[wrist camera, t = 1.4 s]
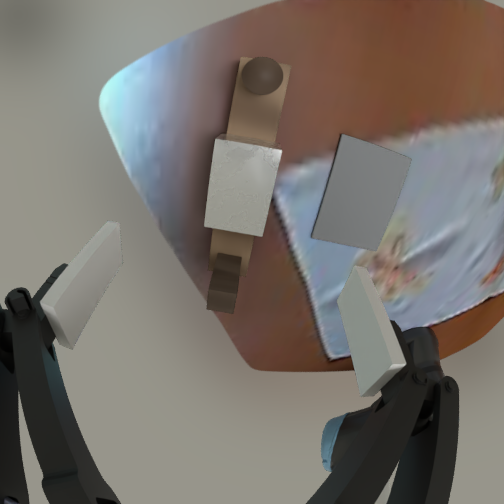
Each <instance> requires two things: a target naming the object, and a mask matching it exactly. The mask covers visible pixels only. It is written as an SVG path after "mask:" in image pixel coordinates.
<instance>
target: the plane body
mask: <svg viewBox="0 0 504 504" xmlns="http://www.w3.org/2000/svg"><path fill="white" fill-rule="evenodd" d="M290 70H291V65H286V64H282V63H277V62H276V61H275V60H273V59H271V58H267V57H257V58H247V57H241V60H240V64H239V69H238V74H237V79H236V85H235V90H234V95H233V100H232V106H231V112H230V117H229V123H228V129H227V134H231V135H237V136H244V137H249V138H255V139H260V140H266V141H271V142H275V139H276V134H277V130H278V125H279V120H280V116H281V111H282V107H283V102H284V97H285V93H286V88H287V83H288V79H289V74H290ZM254 236H255V235H250V234H244V233H238V232H233V231H227V230H221V229H215V228H213V232H212V240H211V248H210V257H209V266H208V270H209V271H213V274H212V278H211V282H210V286H209V290H208V299H207V309H208V310H213V311H219V312H225V313H231V314H233V313H234V308H235V303H236V298H237V292H238V284H239V276H243V277H246V274H247V269H248V264H249V260H250V255H251V250H252V246H253V241H254Z"/></svg>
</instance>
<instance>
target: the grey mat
mask: <svg viewBox="0 0 504 504" xmlns="http://www.w3.org/2000/svg"><path fill="white" fill-rule="evenodd" d="M411 161H412V159H411V158H409V157H406V156H404V155H401V154H399V153H396V152H394V151H391V150H388V149H386V148H383V147H380V146H377V145H375V144H372V143H369V142H366V141H363V140H360V139H357V138H354V137H351V136H347V135H344V134H341V137H340V141H339V145H338V148H337V152H336V156H335V159H334V163H333V166H332V170H331V173H330V177H329V180H328V184H327V187H326V190H325V194H324V197H323V200H322V203H321V207H320V210H319V213H318V216H317V219H316V223H315V226H314V229H313V232H312V235H311V238H313V239H318V240H324V241H329V242H334V243H338V244H343V245H348V246H353V247H358V248H363V249H367V250H372V251H377V249H378V246H379V244H380V242H381V240H382V237H383V235H384V233H385V230H386V228H387V226H388V223H389V221H390V218H391V216H392V213H393V211H394V208H395V206H396V203H397V201H398V198H399V195H400V193H401V190H402V187H403V184H404V182H405V179H406V176H407V173H408V170H409V167H410V164H411Z"/></svg>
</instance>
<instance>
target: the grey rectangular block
mask: <svg viewBox="0 0 504 504" xmlns="http://www.w3.org/2000/svg"><path fill="white" fill-rule="evenodd" d="M281 153H282V149H281V146H280V143H276V142H271V141H266V140H260V139H255V138H249V137H244V136H237V135H231V134H224V133H221V134H220V135H219V136H218V137H217V138H216V139H215V145H214V151H213V158H212V165H211V173H210V180H209V188H208V196H207V204H206V213H205V222H204V227H209V228H215V229H221V230H227V231H233V232H238V233H244V234H250V235H255V236H261V237H262V236H263V232H264V228H265V223H266V219H267V215H268V210H269V206H270V201H271V197H272V193H273V188H274V184H275V180H276V175H277V171H278V166H279V162H280V158H281Z"/></svg>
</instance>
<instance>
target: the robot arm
mask: <svg viewBox="0 0 504 504" xmlns="http://www.w3.org/2000/svg"><path fill="white" fill-rule="evenodd" d="M122 264H123V259H122V247H121V235H120V223H119V222H113V221H107V222H106V223H105V225H103V227H102V228H101V229H100V230H99V231H98V232H97V233H96V234H95V235H94V236H93V237H92V238H91V239H90V241H89V242H88V243H87V244H86V245H85V246H84V248H83V249H82V250H81V251H80V252H79V253H78V254H77V255H76V257H75V258H74V259H73V260H72V262H71V263H70V264H69V265H68V264H62V265H61V266H59V267H58V268H56V269H55V270H54V271H53V273H52V274H51V275H50V277H48V279H47V280H46V282H45V283H44V284H43V285H42V286H41V288H40V289H39V290H38V291H37V293H36V294H35V295H34V297H33V298H31V296H30V293H29V291H28V290H27V289H26V288H22V287H21V288H16V289H14V290H12V291H11V292H9V293H8V295H7V296H6V298H5V304H6V306H7V308H8V310H7V309H2V307H1V305H0V504H29V495H28V489H27V484H26V479H25V473H24V467H23V461H22V454H21V446H20V435H19V413H18V391H19V394H20V399H21V403H22V408H23V412H24V416H25V420H26V424H27V428H28V431H29V435H30V438H31V441H32V444H33V448H34V450H35V453H36V456H37V459H38V461H39V464H40V467H41V469H42V472H43V477H44V478H43V480H42V488H43V490H44V493H45V495H46V497H47V500H48V501H49V503H50V504H121V503H120V501H119V500H118V498H117V496H116V495H115V493H114V492H113V490H112V489H111V488H110V487H109V485H108V484H107V483H106V482H105V481H104V479H103V478H102V476H101V474H100V472H99V471H98V468H97V466H96V464H95V462H94V460H93V458H92V456H91V454H90V452H89V450H88V448H87V445H86V444H85V441H84V439H83V436H82V434H81V431H80V429H79V427H78V424H77V421H76V419H75V416H74V413H73V411H72V408H71V405H70V402H69V399H68V396H67V393H66V390H65V386H64V383H63V379H62V376H61V372H60V368H59V364H58V360H57V356H56V352H55V347H54V345H53V341H54V339H55V337H56V338H57V340H58V342H59V344H60V345H62V346H64V347H67V348H69V349H72V350H73V348H74V346H75V344H76V342H77V340H78V338H79V336H80V334H81V333H82V331H83V329H84V327H85V325H86V323H87V321H88V320H89V318H90V316H91V314H92V313H93V311H94V309H95V307H96V306H97V304H98V302H99V301H100V299H101V297H102V296H103V294H104V293H105V291H106V289H107V288H108V286H109V284H110V283H111V281H112V280H113V278H114V276H115V275H116V273H117V272H118V270H119V269H120V267H121V265H122ZM337 304H338V307H339V311H340V314H341V318H342V322H343V326H344V329H345V333H346V337H347V341H348V345H349V349H350V353H351V357H352V361H353V365H354V370H355V374H356V378H357V383H358V387H359V392H360V396H361V397H365V396H374V395H375V394H377V393H378V391H380V390H381V393H382V396H381V397H380V398H379V399H378V400H377V401H375V402H374V403H373V404H372V405H371V406H370V407H368V408H365V409H362V410H358V411H355V412H351V413H350V412H349V413H346V414H345V415H342V416H339V417H336V418H333V419H331V420H330V421H328V422H327V424H326V425H325V428H324V430H323V434H322V442H321V456H322V458H323V466H324V468H325V470H327V471H330V472H332V473H331V474H330V475H329V476H328V478H327V479H326V480H325V482H324V483H323V484H322V485H321V486H320V488H319V489H318V490H317V492H316V493H315V494H314V495H313V496H312V497H311V498H310V500H309V501H308V502H307V503H306V504H448V501H449V497H450V492H451V487H452V482H453V476H454V470H455V462H456V453H457V443H458V428H459V388H458V385H457V383H456V381H455V380H454V379H453V378H452V377H449V376H445V375H444V373H443V370H442V368H441V365H440V358H439V350H438V346H439V345H438V339H437V337H436V335H435V333H434V331H433V330H432V329H430V328H425V327H421V328H414V329H411V330H408V331H405V332H403V333H402V331H401V329H400V327H399V326H398V325H397V324H396V322H395V321H392V320H389V318H388V315H387V313H386V311H385V308H384V306H383V304H382V301H381V299H380V297H379V295H378V292H377V290H376V288H375V286H374V284H373V282H372V279H371V277H370V275H369V273H368V271H367V269H366V267H360V266H355V265H354V267H353V270H352V272H351V274H350V276H349V278H348V280H347V282H346V284H345V286H344V288H343V290H342V292H341V294H340V296H339V298H338V300H337ZM399 459H400V460H399ZM398 461H399V464H398V468H397V471H396V475H395V478H394V482H393V485H392V488H391V489H390V483H389V479H390V477H391V475H392V473H393V471H394V469H395V467H396V465H397V463H398Z"/></svg>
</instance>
